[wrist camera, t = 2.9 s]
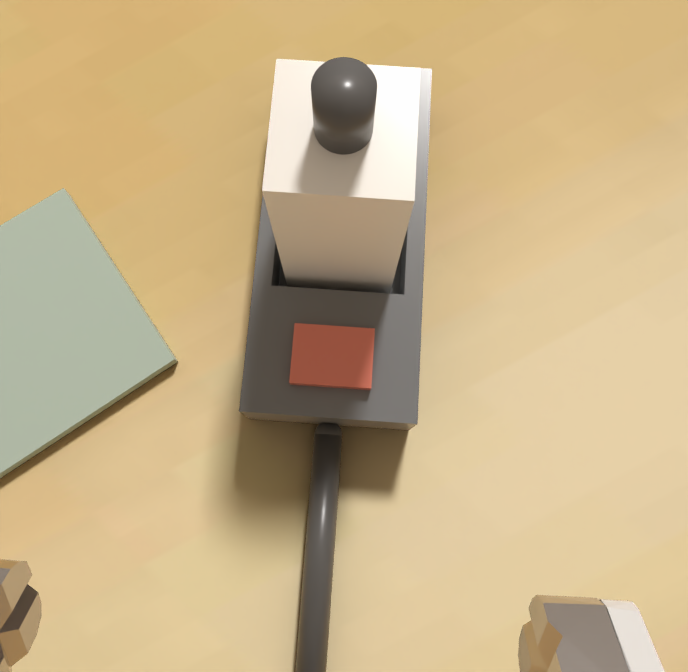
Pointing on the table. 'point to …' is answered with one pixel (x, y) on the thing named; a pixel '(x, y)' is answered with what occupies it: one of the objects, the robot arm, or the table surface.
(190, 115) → the table surface
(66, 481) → the table surface
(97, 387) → the mat
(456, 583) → the table surface
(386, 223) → the plug
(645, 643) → the robot arm
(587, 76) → the table surface
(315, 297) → the power strip
